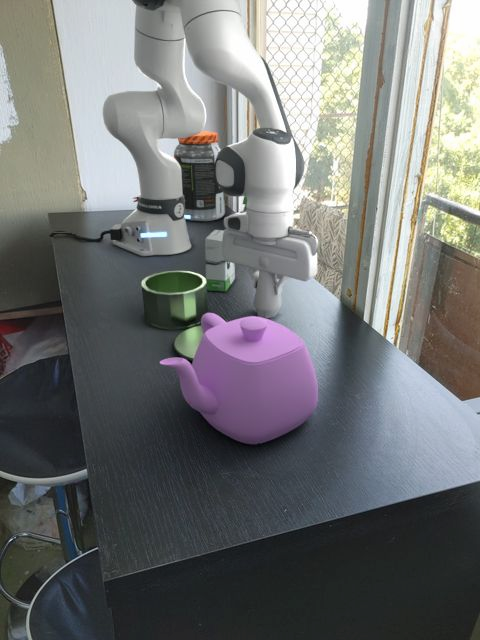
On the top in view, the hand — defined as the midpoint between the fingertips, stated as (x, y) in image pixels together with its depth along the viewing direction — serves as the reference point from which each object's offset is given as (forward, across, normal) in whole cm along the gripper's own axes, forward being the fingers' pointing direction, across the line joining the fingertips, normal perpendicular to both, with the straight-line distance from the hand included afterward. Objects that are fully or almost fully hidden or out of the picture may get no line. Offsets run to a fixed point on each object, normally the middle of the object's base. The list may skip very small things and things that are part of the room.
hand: (267, 290), depth 105 cm
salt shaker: (+5, 0, 0) cm, 5 cm away
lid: (+5, +1, +17) cm, 18 cm away
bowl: (+6, +15, +11) cm, 19 cm away
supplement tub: (+6, +59, -52) cm, 80 cm away
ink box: (+6, +18, -8) cm, 20 cm away
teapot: (+5, -17, +31) cm, 35 cm away
